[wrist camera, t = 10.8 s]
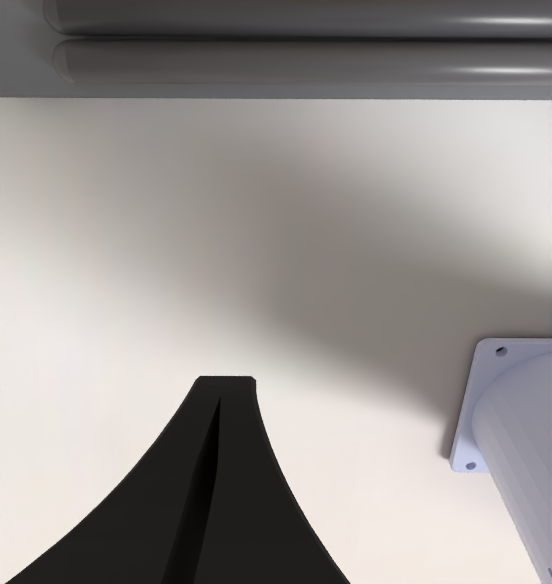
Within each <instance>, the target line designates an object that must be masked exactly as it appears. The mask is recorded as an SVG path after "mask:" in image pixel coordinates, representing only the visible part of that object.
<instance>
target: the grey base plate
mask: <svg viewBox="0 0 552 584" xmlns="http://www.w3.org/2000/svg"><path fill="white" fill-rule="evenodd" d="M0 97H47V98H243V99H438V100H552V0H0Z"/></svg>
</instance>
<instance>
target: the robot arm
mask: <svg viewBox="0 0 552 584" xmlns="http://www.w3.org/2000/svg"><path fill="white" fill-rule="evenodd" d="M500 347H504V348H503V349H502V350H501V351H498V352H496V350H497V349H498V348H500ZM470 462H471V463H470ZM449 464H450V466H451V468H452V470H454V471H455V472H490V473H491V475H492V478H493V480H494V482H495V484H496V486H497V488H498V490H499V493H500V495H501V497H502V499H503V501H504V503H505V505H506V508H507V510H508V512H509V514H510V516H511V518H512V521H513V523H514V525H515V527H516V529H517V531H518V533H519V536H520V538H521V540H522V542H523V544H524V546H525V549H526V551H527V553H528V555H529V557H530V559H531V561H532V564H533V566H534V568H535V570H536V572H537V574H538V577H539V579H540V581H541V583H542V584H552V338H486V339H483V340H481V341H480V342H479V343H478V344H477V346H476V349H475V353H474V358H473V362H472V366H471V370H470V375H469V379H468V383H467V387H466V392H465V396H464V400H463V404H462V408H461V413H460V417H459V421H458V425H457V430H456V434H455V438H454V442H453V447H452V451H451V455H450V459H449ZM5 584H350V582H349V581H348V580H347V578H346V577H345V575H344V574H343V573H342V571H341V570H340V569H339V567H338V566H337V565H336V563H335V562H334V560H333V559H332V557H331V556H330V554H329V553H328V551H327V550H326V548H325V547H324V545H323V544H322V542H321V541H320V539H319V538H318V536H317V534H316V533H315V531H314V530H313V528H312V527H311V525H310V524H309V522H308V520H307V518H306V517H305V515H304V513H303V511H302V510H301V508H300V506H299V504H298V503H297V501H296V499H295V497H294V495H293V493H292V491H291V489H290V487H289V485H288V483H287V481H286V479H285V477H284V475H283V473H282V471H281V468H280V466H279V464H278V461H277V459H276V457H275V454H274V452H273V449H272V447H271V444H270V441H269V438H268V436H267V433H266V430H265V427H264V424H263V420H262V417H261V413H260V409H259V405H258V400H257V394H256V380H255V379H254V378H253V377H252V376H200V377H198V378H197V379H196V380H195V382H194V384H193V386H192V387H191V389H190V391H189V392H188V394H187V396H186V397H185V399H184V401H183V402H182V404H181V405H180V407H179V408H178V410H177V411H176V413H175V414H174V416H173V417H172V418H171V420H170V421H169V423H168V424H167V425H166V427H165V428H164V430H163V431H162V432H161V434H160V435H159V436H158V438H157V439H156V440H155V442H154V443H153V444H152V445H151V447H150V448H149V449H148V450H147V452H146V453H145V454H144V455H143V456H142V458H141V459H140V460H139V461H138V463H137V464H136V465H135V466H134V467H133V469H132V470H131V471H130V472H129V473H128V474H127V475H126V476H125V478H124V479H123V480H122V481H121V482H120V483H119V484H118V485H117V486H116V487H115V488H114V489H113V490H112V491H111V493H110V494H109V495H108V496H107V497H106V498H105V499H104V500H103V501H102V502H101V503H100V504H99V505H98V506H97V507H96V508H94V509H93V510H92V511H91V512H90V513H89V514H88V515H87V516H86V517H85V518H84V519H83V520H82V521H81V522H80V523H79V524H78V525H76V526H75V527H74V528H73V529H72V530H71V531H70V532H69V533H68V534H66V535H65V536H64V537H63V538H62V539H61V540H59V541H58V542H57V543H56V544H54V545H53V546H52V547H51V548H50V549H48V550H47V551H46V552H45V553H43V554H42V555H41V556H40V557H38V558H37V559H36V560H35V561H33V562H32V563H31V564H30V565H29V566H27V567H26V568H25V569H24V570H22V571H21V572H20V573H18V574H17V575H16V576H15V577H13V578H12V579H11V580H9V581H8V582H7V583H5Z"/></svg>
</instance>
